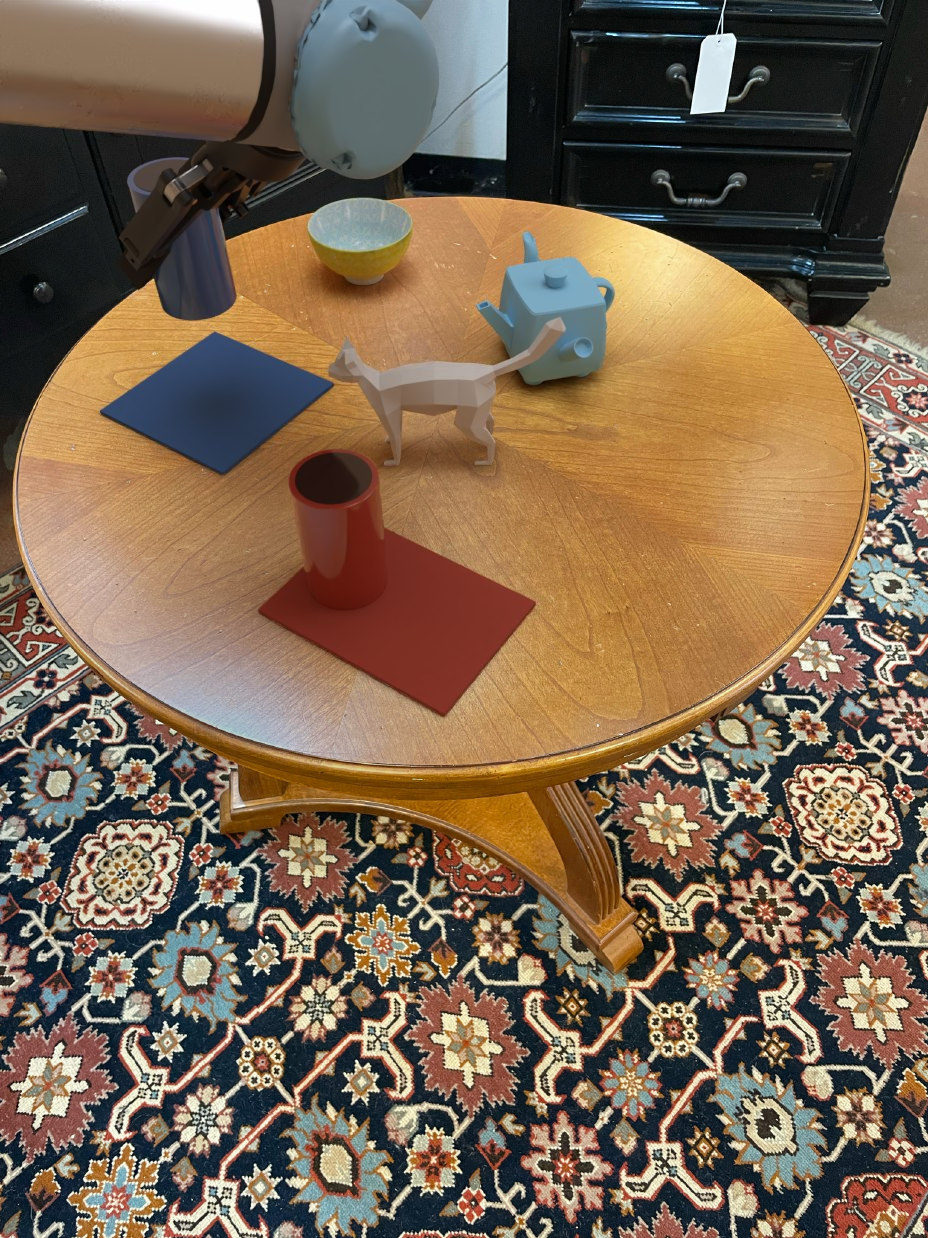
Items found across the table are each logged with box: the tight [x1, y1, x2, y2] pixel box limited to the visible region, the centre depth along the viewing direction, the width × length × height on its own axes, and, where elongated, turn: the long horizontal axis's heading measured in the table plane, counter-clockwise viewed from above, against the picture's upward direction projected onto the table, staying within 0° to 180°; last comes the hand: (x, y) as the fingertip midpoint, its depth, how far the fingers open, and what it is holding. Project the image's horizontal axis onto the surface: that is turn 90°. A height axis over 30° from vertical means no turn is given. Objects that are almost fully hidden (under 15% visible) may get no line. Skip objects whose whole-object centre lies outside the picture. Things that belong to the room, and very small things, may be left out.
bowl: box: [306, 197, 414, 286], centre depth 106 cm, size 11×12×6 cm
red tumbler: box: [287, 448, 388, 610], centre depth 74 cm, size 7×7×11 cm
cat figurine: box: [327, 317, 566, 467], centre depth 83 cm, size 4×20×14 cm, turn 91°
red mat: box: [257, 527, 537, 718], centre depth 76 cm, size 18×13×1 cm
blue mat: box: [99, 330, 335, 476], centre depth 93 cm, size 16×16×1 cm
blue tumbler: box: [126, 156, 238, 322], centre depth 80 cm, size 7×7×11 cm
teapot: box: [475, 231, 616, 386], centre depth 94 cm, size 18×14×10 cm
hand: (161, 255), depth 84 cm, fingers closed on blue tumbler, 7 cm apart
